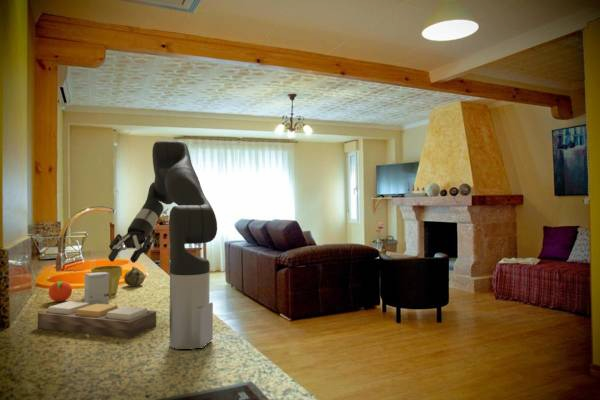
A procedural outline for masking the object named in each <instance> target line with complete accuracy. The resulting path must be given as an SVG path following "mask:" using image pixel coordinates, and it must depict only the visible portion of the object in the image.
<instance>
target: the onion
mask: <svg viewBox="0 0 600 400" xmlns="http://www.w3.org/2000/svg"><path fill="white" fill-rule="evenodd" d="M145 277H146V276H145V274H144V272H143V271H142V270H140V269H139V268H138V267H135V266H132V267H131V270H129V271H127V272H126V273H125V275H124V277H123V281H124V283H125V284H126V285H127V286H129V287H138V286H141V285H142V284H143V283H144V282H145V279H146V278H145Z"/></svg>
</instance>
